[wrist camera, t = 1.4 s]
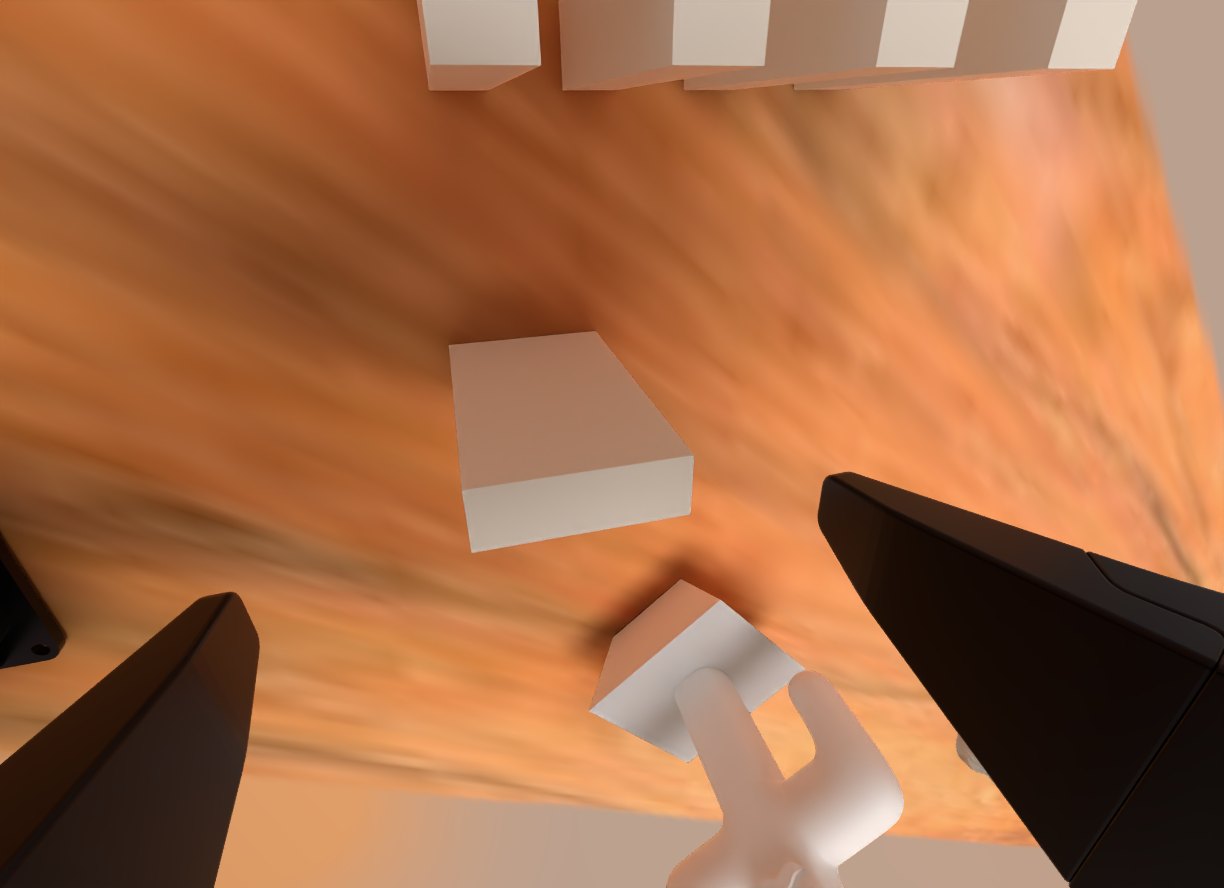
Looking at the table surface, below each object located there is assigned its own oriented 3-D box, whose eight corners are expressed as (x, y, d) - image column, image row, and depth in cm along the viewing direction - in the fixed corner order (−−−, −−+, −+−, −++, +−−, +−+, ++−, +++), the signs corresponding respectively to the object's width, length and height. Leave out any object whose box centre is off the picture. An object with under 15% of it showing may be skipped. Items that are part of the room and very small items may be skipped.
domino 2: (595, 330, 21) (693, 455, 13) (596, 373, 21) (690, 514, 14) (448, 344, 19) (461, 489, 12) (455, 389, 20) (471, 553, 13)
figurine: (783, 598, 30) (1045, 951, 17) (647, 711, 31) (796, 1115, 19) (704, 527, 26) (964, 909, 13) (553, 658, 28) (661, 1118, 15)
